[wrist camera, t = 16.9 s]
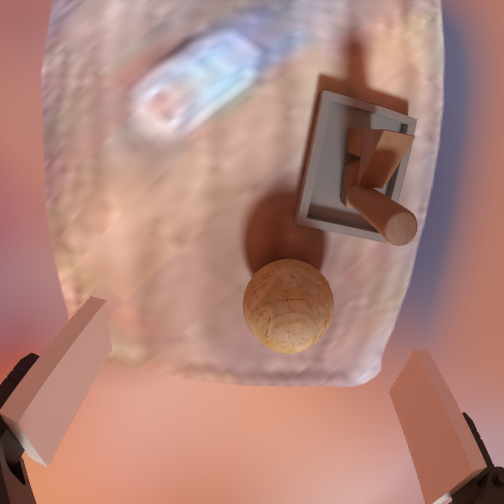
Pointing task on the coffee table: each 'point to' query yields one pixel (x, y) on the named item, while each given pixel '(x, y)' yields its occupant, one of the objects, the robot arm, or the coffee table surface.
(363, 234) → the tray
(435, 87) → the coffee table surface
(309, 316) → the fossilized egg
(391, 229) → the brown wooden piece
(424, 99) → the coffee table surface
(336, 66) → the coffee table surface
